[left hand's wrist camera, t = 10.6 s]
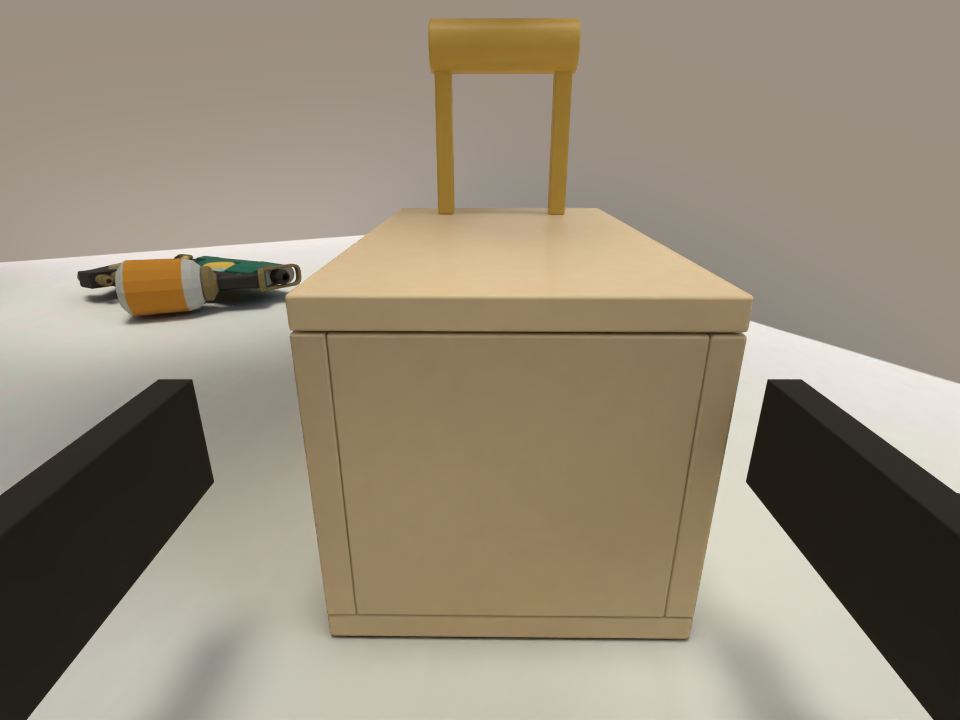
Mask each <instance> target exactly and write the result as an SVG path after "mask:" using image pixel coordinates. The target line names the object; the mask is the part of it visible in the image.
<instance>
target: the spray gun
mask: <svg viewBox="0 0 960 720" xmlns="http://www.w3.org/2000/svg"><path fill="white" fill-rule="evenodd" d="M192 258H193V256H192V255H185V254H179V255H177V256H176V257H175V258H174V259H153V260H126V261H123V263H118V264H114V265H109V266H105V267H101V268H97V269H92V270H87V271H79V272H78V275H77V278H78V280H79V281H80V285H81V286H82V287H86V288H91V289H94V288H101V287H108V286H114V287H116V293H117V296H118V300H119V302H120V304H121V306H122V308H123V309H124V310H126V311H127V312H128V313H130V314H131V315H133V316H138V315H149V314H161V313H172V312H183V311H192V310H195V309H198V308H201V307H202V305H203V304H204V303H205V302H206V301H214V300H215V297H216V295H217V293H218V292H219V289H248V288H260V291H261V292H266V291H268V290H273V289H279V288H284V287H290V286H295V285H298V284H299V283H300V281H301V270H300V267H299V266H298V265H296V264H286V265H282V264H276V263H269V262H258V261H247V260H237V259H226V258H219V257H210V256H202V257H198V258H197V259H192ZM292 267H294V268H295V271H296V280H295V282H293V283H289V282H291V281H292V280H293V277H294V271H293V269H292ZM287 283H288V284H287ZM278 284H283V285H278Z"/></svg>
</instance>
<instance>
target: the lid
mask: <svg viewBox="0 0 960 720" xmlns="http://www.w3.org/2000/svg"><path fill="white" fill-rule="evenodd" d="M428 43H429V60H430V69H431V72H432V74H435V110H436V147H437V183H438V208H402V209H400V210H399V211H398V212H396V213H395V214H394V215H392V216H391V217H390V218H388V219H387V220H386V221H384V222H383V223H382V224H380V225H379V226H377V227H376V228H375V229H373V230H372V231H371V232H369V233H368V234H367V235H365V236H364V237H363V238H361V239H360V240H359V241H357V242H356V243H355V244H353V245H352V246H351V247H349V248H348V249H347V250H345V251H344V252H343V253H341V254H340V255H339V256H337V257H336V258H335V259H333V260H332V261H331V262H329V263H328V264H327V265H325V266H324V267H323V268H321V269H320V270H319V271H317V272H316V273H315V274H313V275H312V276H310V277H309V278H308V279H306V280H305V281H304V282H302V283H301V284H300V285H298V286H297V287H296V288H294V289H293V290H292V291H290V292H289V293H288V294H286V297H285V300H286V308H287V315H288V323H289V328H290V330H293V331H503V332H746V331H747V330H748V327H749V322H750V317H751V312H752V306H753V301H754V299H753V296H752V295H750V294H748V293H746V292H745V291H743V290H741V289H739V288H737V287H736V286H734V285H732V284H730V283H729V282H727V281H725V280H723V279H722V278H720V277H718V276H716V275H715V274H713V273H711V272H709V271H707V270H706V269H704V268H702V267H700V266H699V265H697V264H695V263H693V262H692V261H690V260H688V259H686V258H685V257H683V256H681V255H679V254H677V253H676V252H674V251H672V250H670V249H669V248H667V247H665V246H663V245H662V244H660V243H658V242H656V241H655V240H653V239H651V238H649V237H647V236H646V235H644V234H642V233H640V232H639V231H637V230H635V229H633V228H632V227H630V226H628V225H626V224H625V223H623V222H621V221H619V220H617V219H616V218H614V217H612V216H610V215H609V214H607V213H605V212H603V211H602V210H600V209H598V208H565V197H566V179H567V161H568V143H569V125H570V107H571V89H572V74H574V73H575V71H576V69H577V65H578V59H579V50H580V22H579V19H578V18H505V19H504V18H496V19H494V18H492V19H430V20H429V27H428ZM452 74H554V81H553V103H552V125H551V148H550V170H549V193H548V208H454V159H453V97H452Z"/></svg>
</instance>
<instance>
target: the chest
mask: <svg viewBox="0 0 960 720" xmlns="http://www.w3.org/2000/svg"><path fill="white" fill-rule="evenodd" d="M290 342H291V349H292V356H293V364H294V371H295V378H296V386H297V393H298V401H299V408H300V415H301V423H302V430H303V437H304V445H305V452H306V459H307V467H308V474H309V482H310V489H311V496H312V504H313V511H314V518H315V526H316V533H317V540H318V548H319V555H320V563H321V570H322V577H323V585H324V592H325V599H326V607H327V613H328V618H329V625H330V632H331V635H344V636H451V637H558V638H665V639H687V638H689V636H690V631H691V625H692V620H693V618H692V617H693V616H694V611H695V606H696V600H697V595H698V590H699V585H700V580H701V574H702V569H703V564H704V559H705V553H706V548H707V543H708V538H709V532H710V527H711V522H712V517H713V512H714V506H715V501H716V496H717V491H718V485H719V480H720V475H721V470H722V464H723V459H724V454H725V449H726V444H727V438H728V433H729V428H730V423H731V417H732V412H733V407H734V402H735V397H736V391H737V386H738V381H739V376H740V370H741V365H742V360H743V355H744V349H745V344H746V336H745V335H744V334H742V333H741V332H503V331H293V332H292V333H291V334H290Z"/></svg>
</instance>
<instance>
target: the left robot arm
mask: <svg viewBox="0 0 960 720" xmlns="http://www.w3.org/2000/svg"><path fill="white" fill-rule="evenodd" d="M213 483H214V479H213V474H212V470H211V465H210V460H209V456H208V451H207V446H206V442H205V437H204V432H203V427H202V423H201V418H200V413H199V409H198V404H197V399H196V395H195V390H194V385H193V381H192V379H159V380H157V381H156V382H155V383H153V384H152V385H150V386H149V387H148V388H146V389H145V390H144V391H142V392H141V393H140V394H138V395H137V396H135V397H134V398H133V399H131V400H130V401H129V402H127V403H126V404H124V405H123V406H122V407H120V408H119V409H118V410H116V411H115V412H114V413H112V414H111V415H109V416H108V417H107V418H105V419H104V420H103V421H101V422H100V423H98V424H97V425H96V426H94V427H93V428H92V429H90V430H89V431H88V432H86V433H85V434H83V435H82V436H81V437H79V438H78V439H77V440H75V441H74V442H73V443H71V444H70V445H68V446H67V447H66V448H64V449H63V450H62V451H60V452H59V453H57V454H56V455H55V456H53V457H52V458H51V459H49V460H48V461H47V462H45V463H44V464H42V465H41V466H40V467H38V468H37V469H36V470H34V471H33V472H32V473H30V474H29V475H27V476H26V477H25V478H23V479H22V480H21V481H19V482H18V483H16V484H15V485H14V486H12V487H11V488H10V489H8V490H7V491H6V492H4V493H3V494H1V495H0V720H27V719H28V717H29V716H30V715H31V713H32V712H33V711H34V710H35V708H36V707H37V706H38V705H39V703H40V702H41V701H42V700H43V698H44V697H45V696H46V694H47V693H48V692H49V691H50V689H51V688H52V687H53V686H54V684H55V683H56V682H57V681H58V679H59V678H60V677H61V675H62V674H63V673H64V672H65V670H66V669H67V668H68V667H69V665H70V664H71V663H72V661H73V660H74V659H75V658H76V656H77V655H78V654H79V653H80V651H81V650H82V649H83V648H84V646H85V645H86V644H87V642H88V641H89V640H90V639H91V637H92V636H93V635H94V634H95V632H96V631H97V630H98V628H99V627H100V626H101V625H102V623H103V622H104V621H105V620H106V618H107V617H108V616H109V615H110V613H111V612H112V611H113V609H114V608H115V607H116V606H117V604H118V603H119V602H120V601H121V599H122V598H123V597H124V595H125V594H126V593H127V592H128V590H129V589H130V588H131V587H132V585H133V584H134V583H135V582H136V580H137V579H138V578H139V576H140V575H141V574H142V573H143V571H144V570H145V569H146V568H147V566H148V565H149V564H150V563H151V561H152V560H153V559H154V557H155V556H156V555H157V554H158V552H159V551H160V550H161V549H162V547H163V546H164V545H165V543H166V542H167V541H168V540H169V538H170V537H171V536H172V535H173V533H174V532H175V531H176V530H177V528H178V527H179V526H180V524H181V523H182V522H183V521H184V519H185V518H186V517H187V516H188V514H189V513H190V512H191V510H192V509H193V508H194V507H195V505H196V504H197V503H198V502H199V500H200V499H201V498H202V497H203V495H204V494H205V493H206V491H207V490H208V489H209V488H210V486H211V485H212V484H213ZM746 483H747V484H748V485H749V486H750V488H751V489H752V490H753V491H754V493H755V494H756V495H757V497H758V498H759V499H760V500H761V502H762V503H763V504H764V505H765V507H766V508H767V509H768V510H769V512H770V513H771V514H772V516H773V517H774V518H775V519H776V521H777V522H778V523H779V524H780V526H781V527H782V528H783V530H784V531H785V532H786V533H787V535H788V536H789V537H790V538H791V540H792V541H793V542H794V543H795V545H796V546H797V547H798V549H799V550H800V551H801V552H802V554H803V555H804V556H805V557H806V559H807V560H808V561H809V563H810V564H811V565H812V566H813V568H814V569H815V570H816V571H817V573H818V574H819V575H820V576H821V578H822V579H823V580H824V582H825V583H826V584H827V585H828V587H829V588H830V589H831V590H832V592H833V593H834V594H835V595H836V597H837V598H838V599H839V601H840V602H841V603H842V604H843V606H844V607H845V608H846V609H847V611H848V612H849V613H850V615H851V616H852V617H853V618H854V620H855V621H856V622H857V623H858V625H859V626H860V627H861V628H862V630H863V631H864V632H865V634H866V635H867V636H868V637H869V639H870V640H871V641H872V642H873V644H874V645H875V646H876V648H877V649H878V650H879V651H880V653H881V654H882V655H883V656H884V658H885V659H886V660H887V661H888V663H889V664H890V665H891V667H892V668H893V669H894V670H895V672H896V673H897V674H898V675H899V677H900V678H901V679H902V681H903V682H904V683H905V684H906V686H907V687H908V688H909V689H910V691H911V692H912V693H913V694H914V696H915V697H916V698H917V700H918V701H919V702H920V703H921V705H922V706H923V707H924V708H925V710H926V711H927V712H928V713H929V715H930V716H931V717H932V719H933V720H960V494H959V493H956V492H954V491H953V490H952V489H950V488H949V487H948V486H946V485H945V484H944V483H942V482H941V481H939V480H938V479H937V478H935V477H934V476H933V475H931V474H930V473H928V472H927V471H926V470H924V469H923V468H922V467H920V466H919V465H918V464H916V463H915V462H913V461H912V460H911V459H909V458H908V457H907V456H905V455H904V454H903V453H901V452H900V451H898V450H897V449H896V448H894V447H893V446H892V445H890V444H889V443H887V442H886V441H885V440H883V439H882V438H881V437H879V436H878V435H877V434H875V433H874V432H872V431H871V430H870V429H868V428H867V427H866V426H864V425H863V424H862V423H860V422H859V421H857V420H856V419H855V418H853V417H852V416H851V415H849V414H848V413H846V412H845V411H844V410H842V409H841V408H840V407H838V406H837V405H836V404H834V403H833V402H831V401H830V400H829V399H827V398H826V397H825V396H823V395H822V394H820V393H819V392H818V391H816V390H815V389H814V388H812V387H811V386H810V385H808V384H807V383H805V382H804V381H803V380H801V379H768V381H767V385H766V390H765V395H764V399H763V404H762V409H761V413H760V418H759V423H758V427H757V432H756V437H755V442H754V446H753V451H752V456H751V460H750V465H749V470H748V474H747V479H746Z"/></svg>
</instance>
